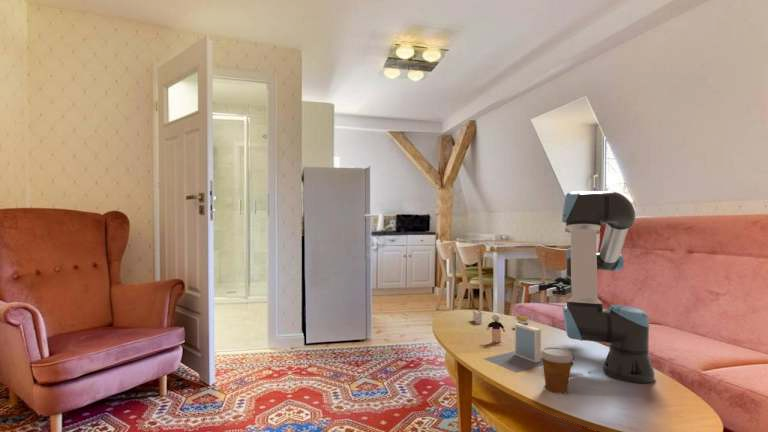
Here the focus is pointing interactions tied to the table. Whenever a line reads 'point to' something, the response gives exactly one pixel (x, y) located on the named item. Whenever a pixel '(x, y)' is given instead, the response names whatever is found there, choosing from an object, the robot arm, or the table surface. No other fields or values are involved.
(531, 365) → the mat
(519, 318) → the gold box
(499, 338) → the grandmother figurine
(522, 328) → the tile
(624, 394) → the table surface
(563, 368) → the disposable coffee cup
